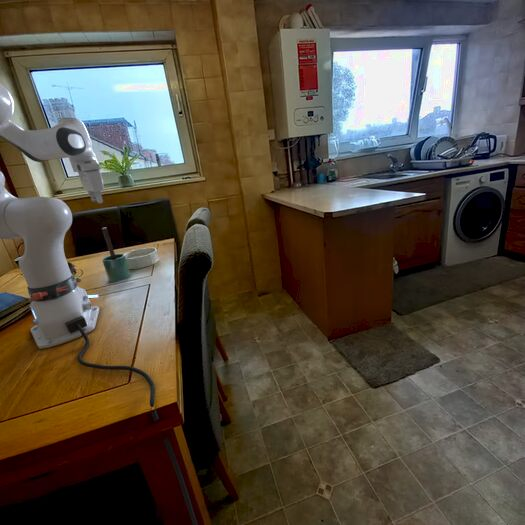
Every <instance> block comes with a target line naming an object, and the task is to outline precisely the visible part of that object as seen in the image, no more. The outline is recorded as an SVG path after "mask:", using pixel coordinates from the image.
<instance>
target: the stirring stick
mask: <svg viewBox="0 0 525 525" xmlns="http://www.w3.org/2000/svg"><path fill="white" fill-rule="evenodd" d="M101 230H102V233H103V237H104V240H105V243H106V246H107V249H108V252H109V256H111V258H112V260H114V259H116V256H115V254H116V253H115V250H114V247H113V244H112V240H111V238H110V235H109V234H110V233H109V230H108V228H107V227H101Z"/></svg>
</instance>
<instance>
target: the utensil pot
mask: <svg viewBox="0 0 525 525" xmlns="http://www.w3.org/2000/svg"><path fill="white" fill-rule="evenodd" d="M124 254H125V253H115V256H116V259H114V260H112V258H111V255H107V256H105V257H103V258H102V259H101V261H102V264H103V267H104V270H105V274H106V276H107V279H108V281H109V283H118V282H121V281H125V280H126V279H128V278H130V277H131V271H130V269H129V268H128V264H127V261H126V258H125V255H124Z"/></svg>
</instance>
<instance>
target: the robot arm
mask: <svg viewBox="0 0 525 525" xmlns="http://www.w3.org/2000/svg"><path fill="white" fill-rule="evenodd" d="M14 110H15V103H14V99H13V97H12V95H11V93H10V91H9V90H8V89H7V88H6V87H5V86H4V85H3V84H2V83H1V82H0V139H2V140H3V141H5V142H7V143H8V144H10V145H12V146H13V147H15V148H16V149H17V150H19V151H20V152H21V153H22V154H23V155H24V156H26V157H27V158H28V159H29V160H31V161H33V162H37V163H44V162H47V161H48V162H49V161H52V160H61V159H67V158H68V159H69V162H70V165H71V168H72V170H73V173H78V177H79V180H80V183H81V186H82V188H83V190H84V191H87V194H88V195H89V197H90V199H91V202H93V203H95V202H96V203H98V204H103V203H104V200H103V194H102V192H104V190H105V184H104V180H103V177H102V173H101V169H102V167H101V164H100V162H98V160H97V156H96V154H95V152H94V150H93V143H92V140H91V138H90V134H89V132H88V130H87V127H86V126H85V124H84V122H83V121H82V120H80V119H79V118H75V117H62V118H59V119H58V121H57V122H58V123H57V124H56V125H53V126H52V127H47V128H41V129H24V128H22V127H20V126H19V125H18V124H16V123H15V122H14V121H12V120H11V118H12V117H13V114H14ZM5 186H6V178H5V175H4V173H3V172H2V171H1V170H0V239H1V240H18V239H19V240H20V239H22V240H23V244H24V253H23V255H21V257H20V258H19V260H18V267H19V269H20V271H21V273H22V276H23V278H24V280H25V282H26V284H27V293H28V295H29V297H30V300H31V302H30V304H28V306H29V308H30V310H31V313H32V315H33V317H34V319H33V320H32V323H33V325H34V326H32V327H30V333H31V335H32V337H33V340H34V342H35V344H36V346H37V348H38V349H39V350H43V349H48V348H53V347H56V346H60V345H63V344H65V343H68V342H70V341H71V342H72V341H73V340H75V339H78V338H81V337H83V339H84V341H85V345H84V347H83V349H82V350H81V351H80V353H79V354H78V356H77V361H78V363H79V364H80V365H82V366H83V367H86V368H92V369H98V370H99V369H100V370H106V371H107V370H108V371H109V370H112V371H113V370H114V371H115V370H116V371H117V370H119V371H120V370H123V371H124V370H125V371H129V372H133V373H136V374H138V375H140V376H141V377H143V378H144V379H145V380H146V382H147V383H148V385H149V387H150V395H149V396H150V397H149V407H150V406H151V407H153V406H154V402H155V397H156V386H155V385H156V384H155V383H154V381H153V379H152V377H151V376H150V375H148V373H146V372H145V371H143V370H142V369H139V368H137V367H134V366H130V365H104V364H97V363H90V362H87V361H85V360H84V359H83V356H84V354H86V352H87V350H88V349H89V346H90V339H89V336H88V333H89V334H90V333H91V332H92V331H94V330H95V329H96V326H97V322H98V317H99V313H100V310H101V308H100V307H99V306H98V305H94V306H93V305H92V303H91V301H90V298H92V299H93V298H99V294H91V295H88V293H87V291H86V289H85V288H82V287H80V286H78V283H77V278H76V277H75V276H74V274H73V273H72V274H71V272H70V269H69V266H68V263H67V262H68V260H67V258H66V255H65V254H66V253H65V250H64V249H65V247H64V245H65V244H64V243H65V242H64V241H65V236H66V233H67V232H68V230H69V229H70V228H71V226H72V224H73V214H72V211H71V209H70V207H69V205H67V203H65V201H63V200H61V199H59V198H56V197H48V196H31V197H22V198H19V197H16V196H14V195H12V193H11V192H9V191H8V190H7V188H6V187H5ZM154 386H155V387H154ZM150 413H151V417H152V420H153V421H154V422H157V421H158V420H159V415H158V413H157V409H156V408H155V412H151V411H150ZM163 443H164V445H165V448H166V450H167V452H168V455H169V458H170V461H171V464H172V465H173V466H172V467H173V468H174V471H175V474H176V477H177V480H178V482H179V486H180V489H181V491H182V494H183V498H184V501H185V504H186V507H187V510H188V513H189V514H188V515H189V517H190V520H191V523H192V525H199V524H198V521H197V518H196V515H195V512H194V509H193V505H192V503H191V499H190V496H189V492H188V489H187V486H186V483H185V480H184V477H183V474H182V470H181V468H180V465H179V462H178V460H177V457H176V454H175V453H174V449H173V447H172V444H171V441H170V439H169V437H167V438H166V439H163Z"/></svg>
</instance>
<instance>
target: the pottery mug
mask: <svg viewBox="0 0 525 525" xmlns="http://www.w3.org/2000/svg"><path fill="white" fill-rule="evenodd" d="M67 263H68V266H69V269H70V272H71V274H73V273H74V274H77V269H76V268H75V267H76V265H75V264H73V263H71V262H70V261H67Z"/></svg>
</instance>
